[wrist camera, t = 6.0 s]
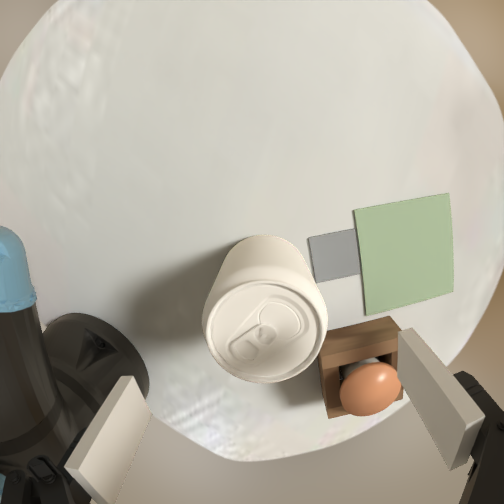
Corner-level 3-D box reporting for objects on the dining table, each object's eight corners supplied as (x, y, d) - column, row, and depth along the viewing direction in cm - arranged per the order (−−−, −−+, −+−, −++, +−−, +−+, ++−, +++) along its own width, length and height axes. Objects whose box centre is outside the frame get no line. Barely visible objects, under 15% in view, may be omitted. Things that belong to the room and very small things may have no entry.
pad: (366, 315, 30) (366, 315, 30) (353, 209, 28) (354, 210, 28) (452, 290, 30) (453, 291, 29) (448, 193, 27) (449, 193, 27)
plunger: (332, 386, 32) (342, 422, 26) (327, 343, 31) (339, 377, 25) (382, 374, 32) (399, 406, 26) (381, 330, 30) (402, 360, 24)
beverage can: (323, 275, 30) (358, 334, 18) (263, 328, 31) (263, 407, 19) (264, 215, 28) (266, 242, 17) (204, 274, 30) (171, 333, 18)
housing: (322, 393, 33) (328, 418, 29) (314, 333, 31) (321, 356, 27) (389, 376, 32) (402, 398, 28) (389, 315, 30) (405, 335, 26)
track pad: (316, 282, 30) (316, 283, 30) (308, 237, 29) (308, 238, 29) (359, 273, 29) (360, 273, 29) (354, 228, 28) (354, 228, 28)
